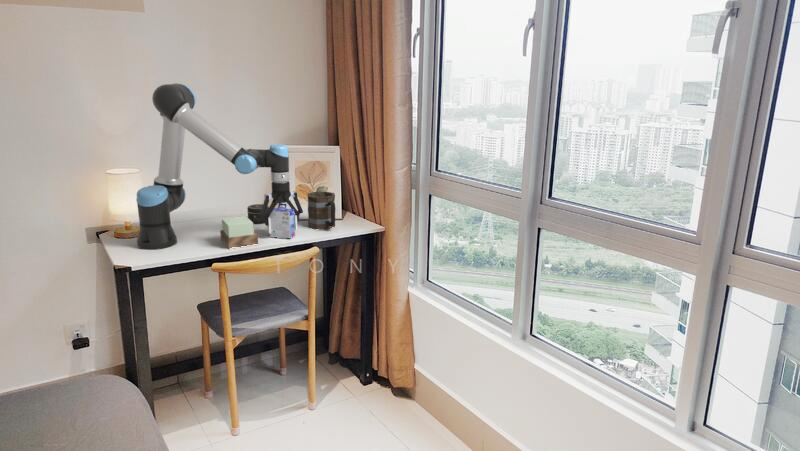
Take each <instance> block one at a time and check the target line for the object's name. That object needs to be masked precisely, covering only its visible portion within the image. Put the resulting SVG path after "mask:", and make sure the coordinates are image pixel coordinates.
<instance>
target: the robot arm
mask: <svg viewBox="0 0 800 451" xmlns="http://www.w3.org/2000/svg"><path fill="white" fill-rule="evenodd" d="M151 99H152V104H153V106H154V108H155V109H156V110H157V111H158V113H159V116H160V117H161V118H162V120H163V124H162V135H161V142H160V144H161V145H160V154H159V155H160V156H159V166H158V175H157V176H155V177H154V178H153V185H148V186H144V187H142V188H140V189H138V191H137V192H136V204H137V206H136V207H137V212H138V220H139V231H138V235H137V239H136V245H137V247H138V248H139V249H142V248H144V249H143V250H158V249H157V248H160V249H166V248H169V246H170V247H172V245H173V246H175V245H176V244H177V243H178V237H177V235H176V232H175V230H174V228H173V226H172V223H171V214H170V213H171V212H173V211H175V210H177V209H178V208H180V207H181V206H182V205H183V204H184V202H185V199H186V195H187V194H186V190H185V188H184V181H183V179H182V178H181V172H182V162H183V154H184V153H183V152H184V145H185V144H184V143H185V133H186V130H187V131H189V133H190V134H192V135H193V136H194V137H196V138H197V139H199V140H200V141H201V142H203V143H204V144H206V145H207V146H208V147H210V148H211V149H212V150H214V151H215V152H216V153H218V154H219V155H221V156H222V157H223V158H224V159H225V160H227V161H229V162H230V163H231V164H233V165H234V167H235V170H236V171H237V172H238V173H239V174H241V175H248V174H252V173H253V172H255V170H257V169H258V168H270V174H271V175H270V178H271V181H272V182H271V193H270V194H267V193H266V194H264V200H263V207H262V210H261V213H260V216H261V217H262V218H265V223H264V225H265V226H266V230H267V233H268V234H269V235H270V233H271V219H270V218H269V216H270V215H271V213H272V211H273V209H274V208H276V206H277V205H278V204H279V203H281V204H287V205H288V206H289V209H294V219H295V231H298V222H300V214H304V211H303V207H302V205H301V203H300V200H299V198H298V193H297V192H296V190H295V191H291V190H290V184H291V183H290V163H289V162H290V161H289V160H290V159H289V157H290V155H289V148H288V146H287V145H286V144H281V143H279V144H270V146H269V148H268V149H259V148H258V149H254V148H246V149H245V148H244V147H243V146H241V145H240V144H238V143H237V142H236V141H234V139H232V138H230V136H228V135H227V134H225V133H224V132H223V131H222V130H220V129H219V128H218V127H217V126H215V125H213V124H212V123H211V122H209V121H208V120H207V119H205V118H204V117H203V116H202V115H201V114H199V113H197V112H196V110H194V107H195V106H196V102H197V100H196V99H197V98H196V95H195V92H194V91H193V90H192V89H191V87H189V86H187V85H185V84H183V83H177V82H175V83H170V84H167V83H165V84H162V85H158V87H156V88H155V90H154V91H153V93H152V98H151ZM291 197H292V198H293V201H294V204H295V205H294V204H293V203H292V201H291V200H290V198H291ZM271 198H272V201H271V203H270V200H271ZM269 203H270V205H269ZM268 206H269V208H268V210H267V207H268ZM296 208H297V209H296ZM266 210H267V212H266ZM265 213H266V214H265ZM165 247H166V248H165Z"/></svg>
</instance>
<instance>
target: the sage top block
mask: <svg viewBox="0 0 800 451" xmlns="http://www.w3.org/2000/svg"><path fill="white" fill-rule="evenodd" d="M221 225H222V226H221V227H222V230H223V231H224V232H225V233H226V235H227V236H228V237H229V238H230V237H238V236H246V235H254V232H255V230H254V224H253V222H252V221H251V220H249V219H248V216H246V215H244V216H243V215H242V216H235V217H225V218H221Z"/></svg>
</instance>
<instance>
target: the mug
mask: <svg viewBox="0 0 800 451" xmlns="http://www.w3.org/2000/svg"><path fill="white" fill-rule="evenodd" d="M335 199H336V194H335V192H330V191H312V192H309V193H307V215H308V216H307V218H308V221H307V222H308V223H307V227H308V229H311V228H312V230H316V229H323V230H329V229H328V228H331V229H333V228H332V227H334V228H336V227H335V226H336V208H337V207H336V204H335V202H336V201H335Z"/></svg>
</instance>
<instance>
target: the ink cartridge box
mask: <svg viewBox="0 0 800 451" xmlns="http://www.w3.org/2000/svg"><path fill="white" fill-rule="evenodd" d="M277 205H278V206H277V207H275V208H274V209H273V211H272V213H271V215H270V216H269V218H270V219H271V233H270V234H269V238H274V237H277V238H278V239H286V238H291V237H292V238H294V237H295V236H296V230H295V219H294V214H295V213H294V209H291V208H287V205H288V204H287V203H278V204H277ZM293 236H294V237H293ZM277 238H276V239H277ZM292 238H291V239H292Z"/></svg>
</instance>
